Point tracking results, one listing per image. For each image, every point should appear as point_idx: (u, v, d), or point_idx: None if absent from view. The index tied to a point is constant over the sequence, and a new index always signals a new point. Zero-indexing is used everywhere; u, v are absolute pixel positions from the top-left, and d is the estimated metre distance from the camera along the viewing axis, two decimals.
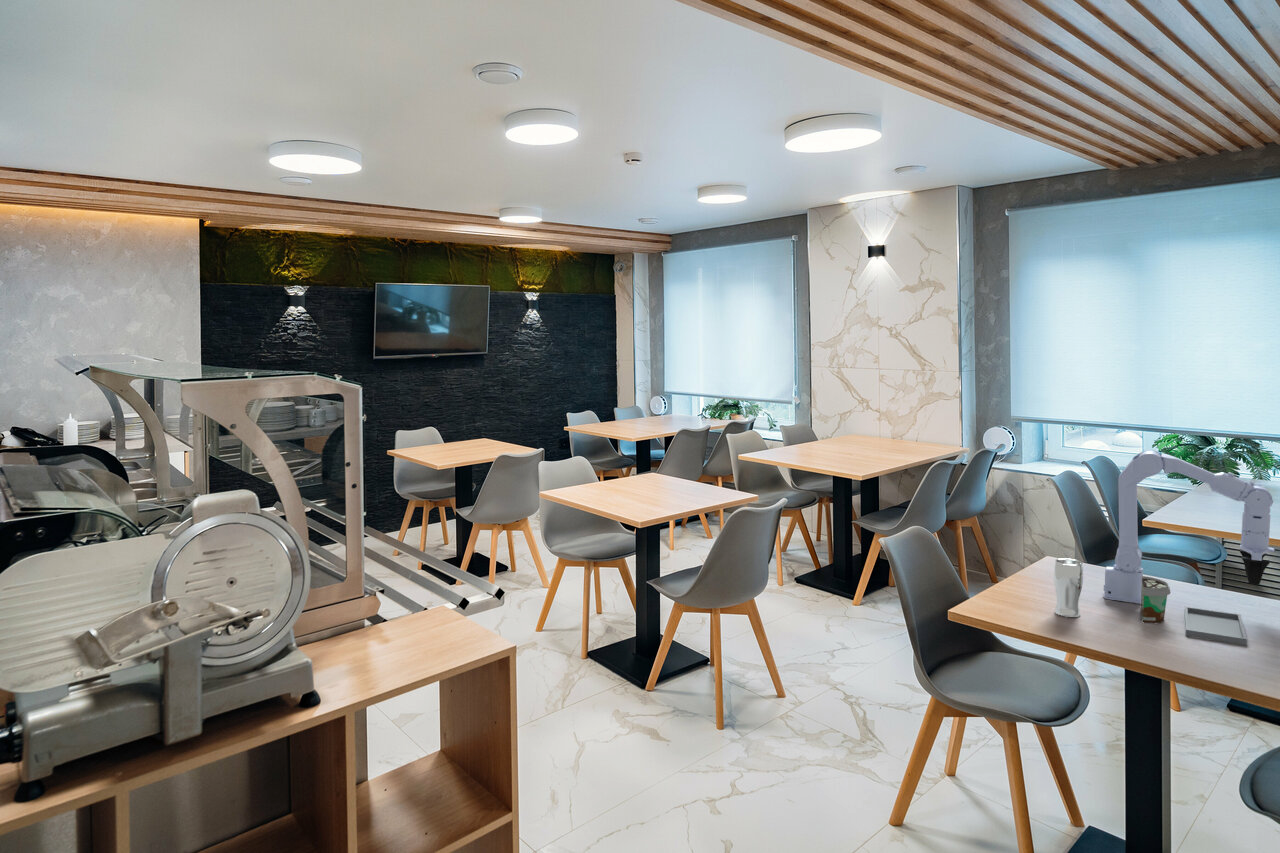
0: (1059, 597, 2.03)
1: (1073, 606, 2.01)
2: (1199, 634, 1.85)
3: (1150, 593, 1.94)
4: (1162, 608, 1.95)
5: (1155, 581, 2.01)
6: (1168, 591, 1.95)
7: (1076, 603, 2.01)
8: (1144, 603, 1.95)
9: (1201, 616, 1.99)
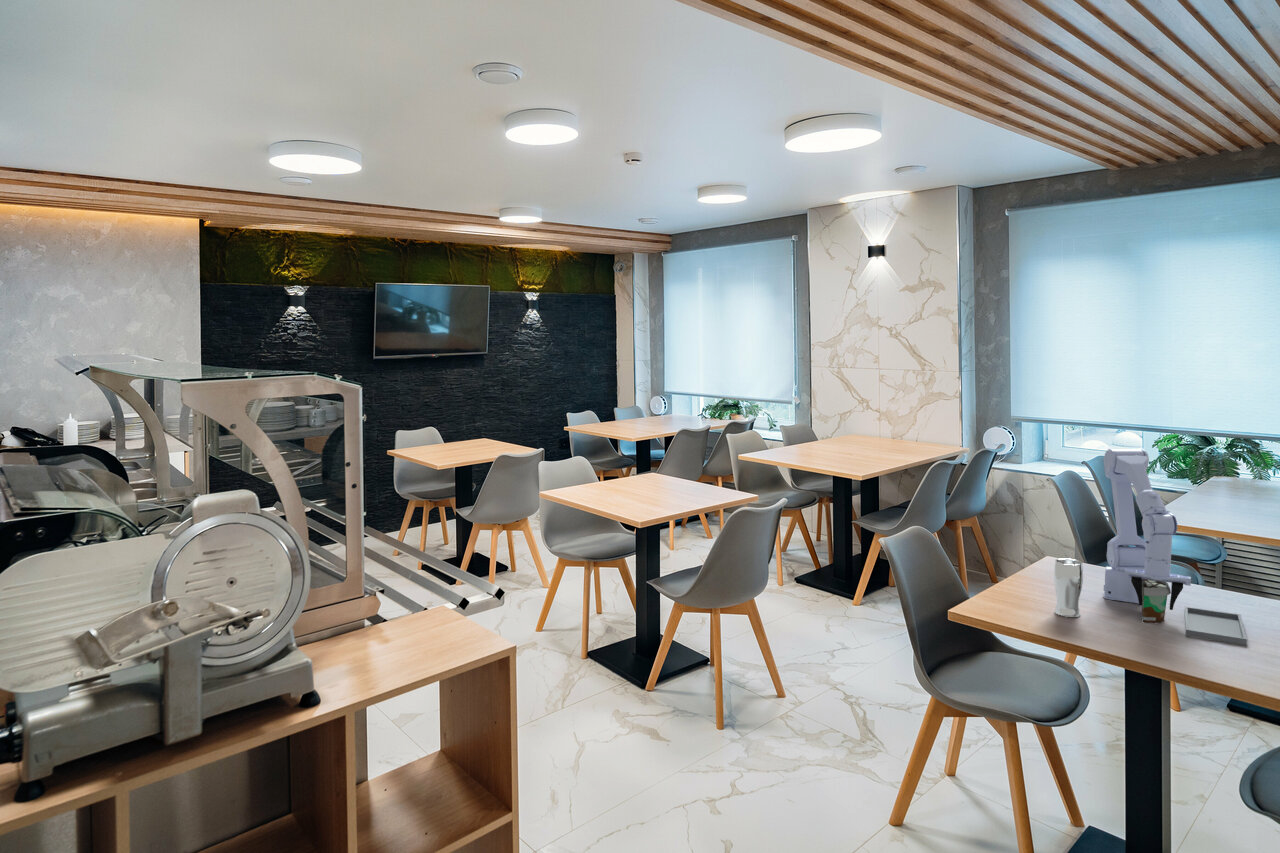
0: (1059, 597, 2.03)
1: (1073, 606, 2.01)
2: (1199, 634, 1.85)
3: (1150, 593, 1.94)
4: (1162, 608, 1.95)
5: (1155, 581, 2.01)
6: (1168, 591, 1.95)
7: (1076, 603, 2.01)
8: (1144, 603, 1.95)
9: (1201, 616, 1.99)
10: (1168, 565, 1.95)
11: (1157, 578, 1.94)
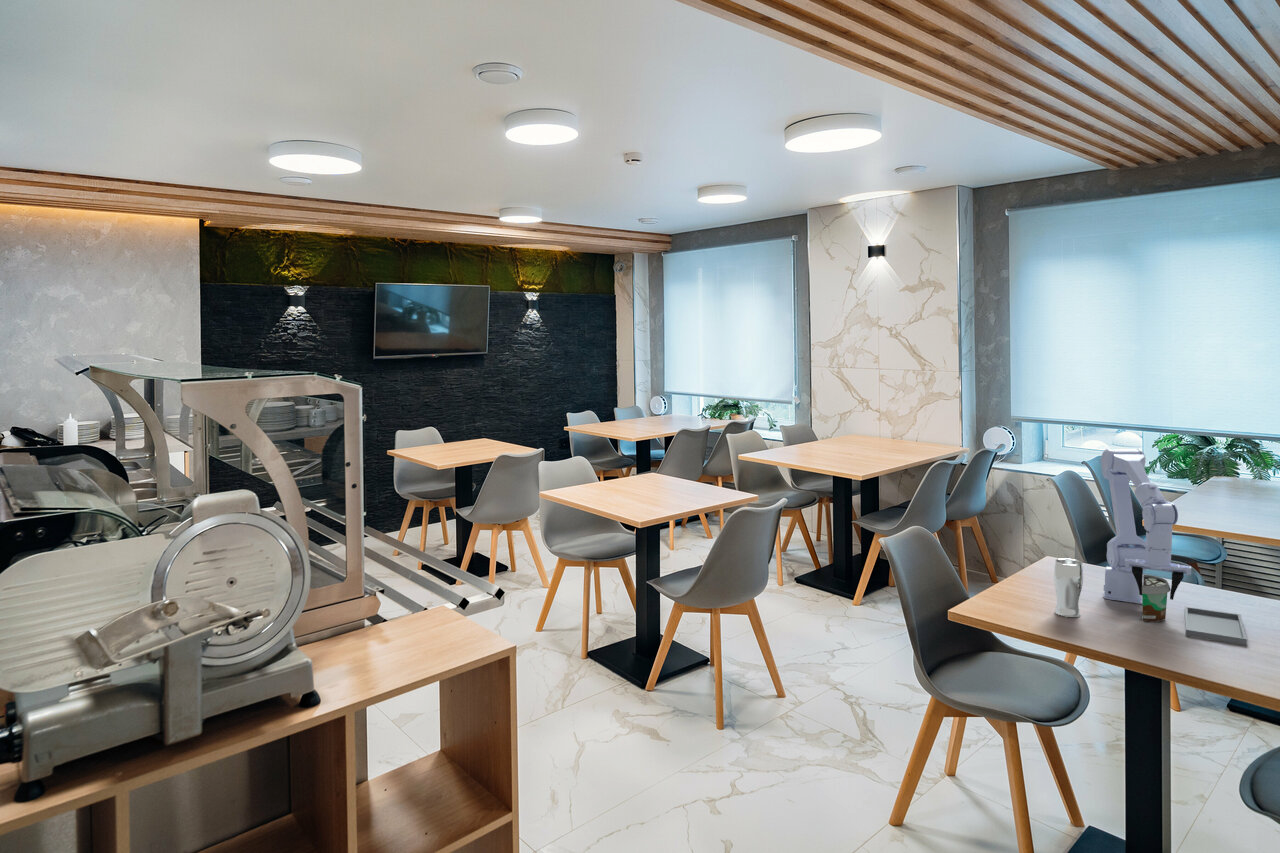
0: (1059, 597, 2.03)
1: (1073, 606, 2.01)
2: (1199, 634, 1.85)
3: (1148, 591, 1.94)
4: (1162, 606, 1.95)
5: (1156, 579, 2.01)
6: (1167, 589, 1.95)
7: (1076, 603, 2.01)
8: (1143, 601, 1.96)
9: (1201, 616, 1.99)
10: (1168, 555, 1.94)
11: (1157, 568, 1.94)
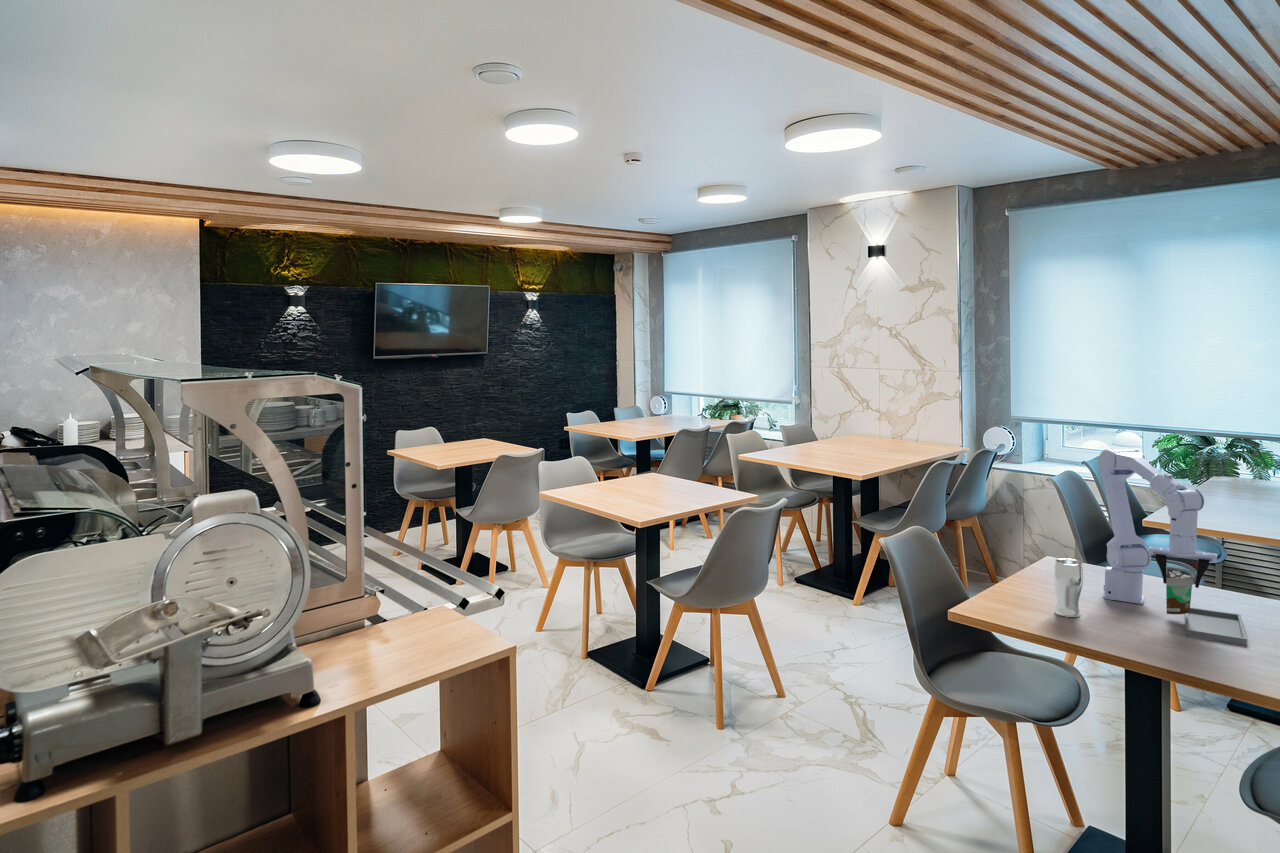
0: (1059, 597, 2.03)
1: (1073, 606, 2.01)
2: (1199, 634, 1.85)
3: (1173, 583, 1.91)
4: (1187, 599, 1.92)
5: (1180, 571, 1.98)
6: (1192, 581, 1.91)
7: (1076, 603, 2.01)
8: (1167, 594, 1.92)
9: (1201, 616, 1.99)
10: (1194, 542, 1.91)
11: (1182, 555, 1.91)
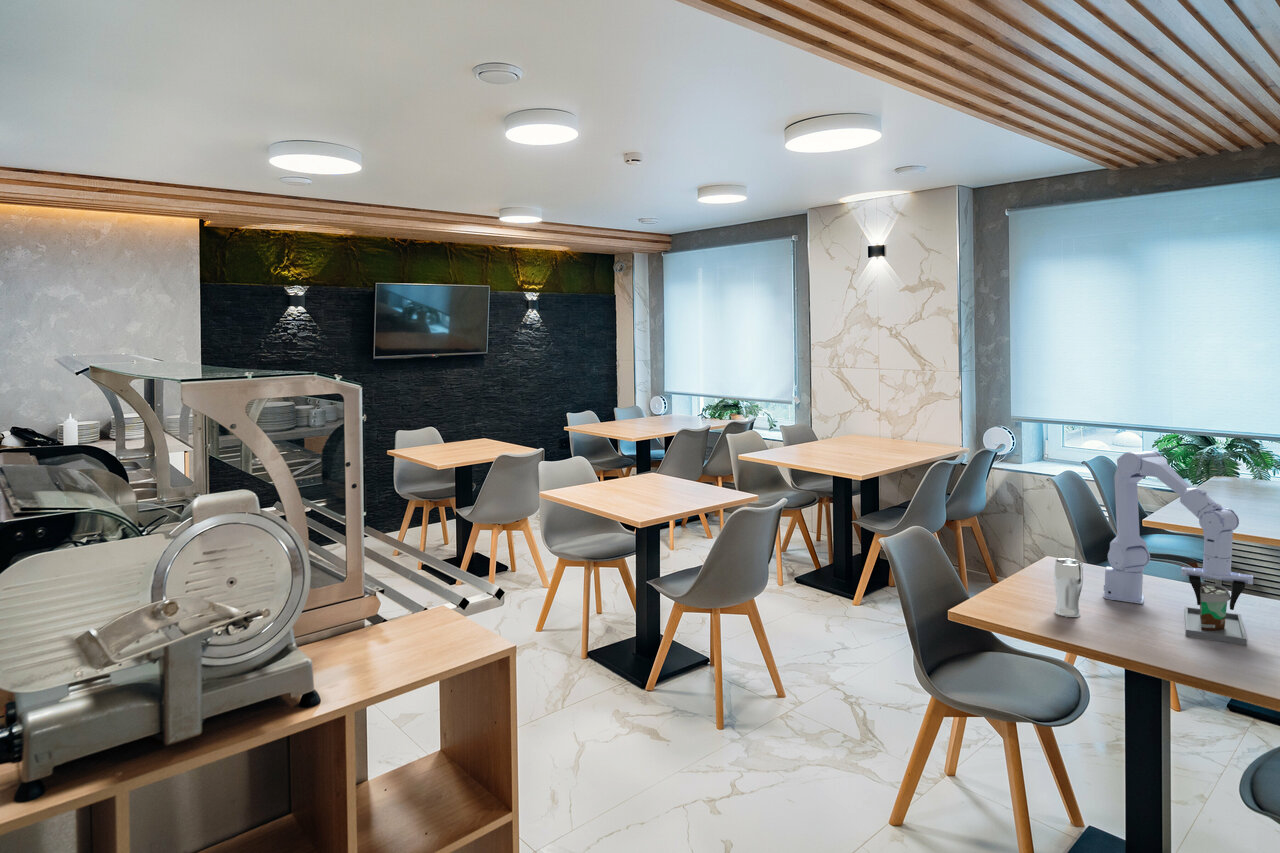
0: (1059, 597, 2.03)
1: (1073, 606, 2.01)
2: (1199, 634, 1.85)
3: (1208, 599, 1.87)
4: (1222, 615, 1.88)
5: (1214, 587, 1.94)
6: (1228, 597, 1.87)
7: (1076, 603, 2.01)
8: (1202, 610, 1.88)
9: None
10: (1229, 563, 1.87)
11: (1218, 577, 1.87)
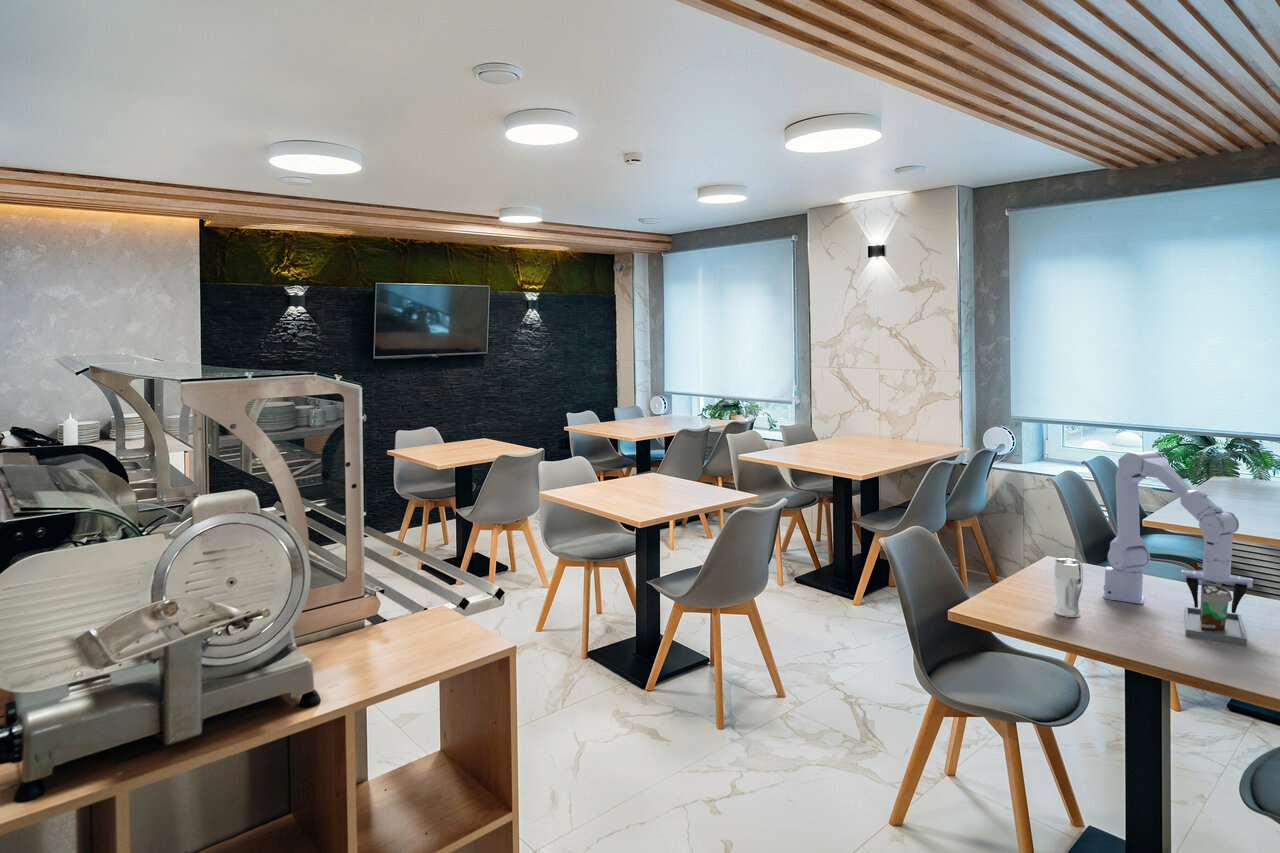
0: (1059, 597, 2.03)
1: (1073, 606, 2.01)
2: (1199, 634, 1.85)
3: (1210, 599, 1.87)
4: (1223, 615, 1.88)
5: (1216, 587, 1.94)
6: (1229, 598, 1.87)
7: (1076, 603, 2.01)
8: (1203, 610, 1.88)
9: None
10: (1229, 566, 1.87)
11: (1217, 580, 1.87)
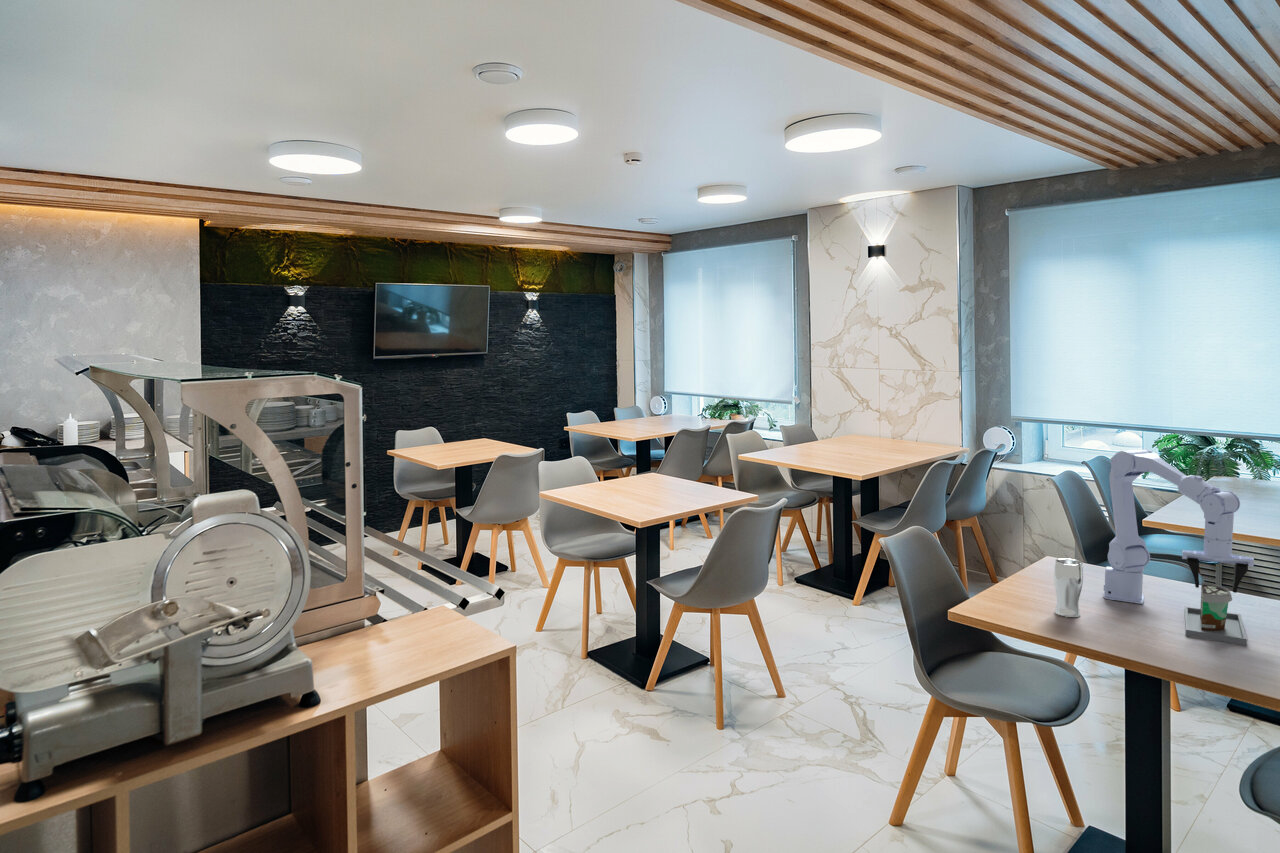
0: (1059, 597, 2.03)
1: (1073, 606, 2.01)
2: (1199, 634, 1.85)
3: (1210, 599, 1.87)
4: (1223, 615, 1.88)
5: (1216, 587, 1.94)
6: (1229, 598, 1.87)
7: (1076, 603, 2.01)
8: (1203, 610, 1.88)
9: None
10: (1230, 545, 1.87)
11: (1218, 559, 1.86)
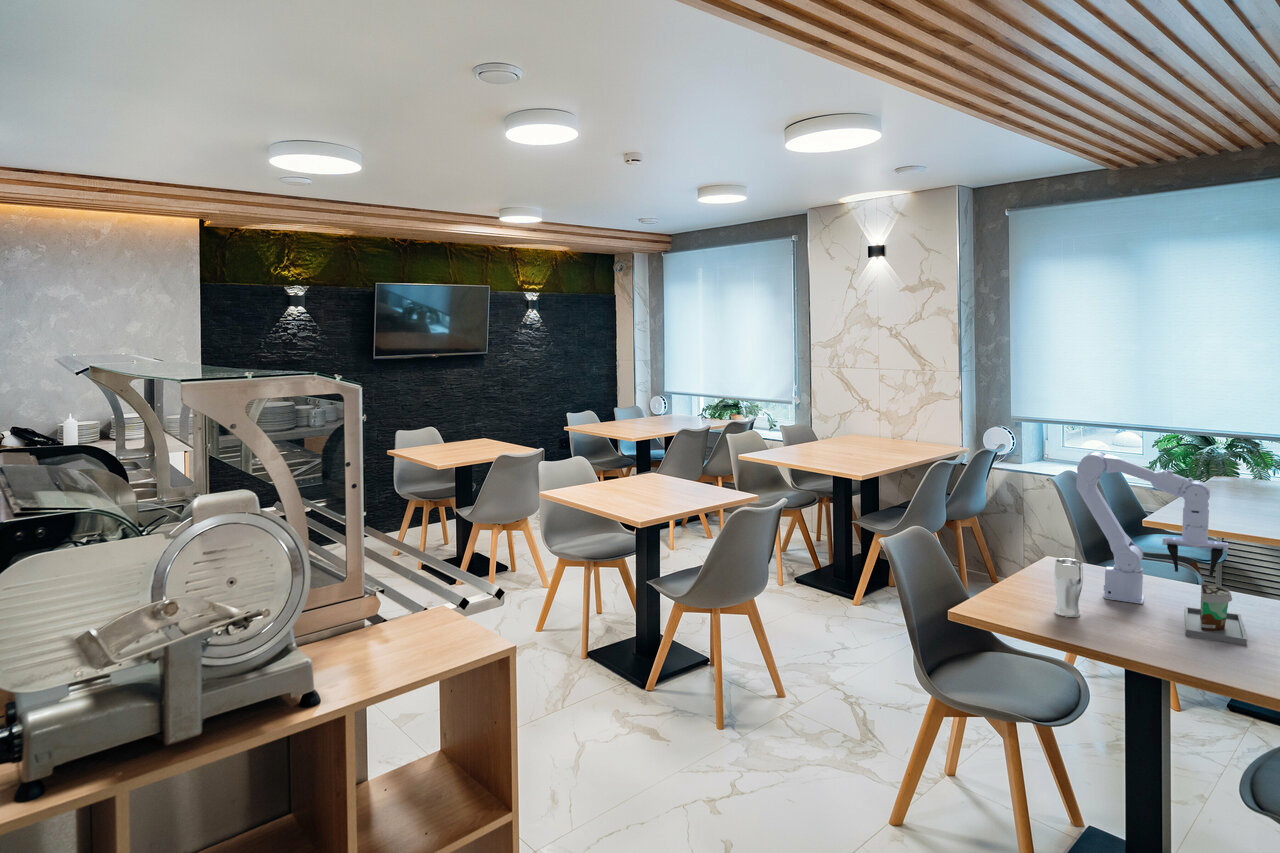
0: (1059, 597, 2.03)
1: (1073, 606, 2.01)
2: (1199, 634, 1.85)
3: (1210, 599, 1.87)
4: (1223, 615, 1.88)
5: (1216, 587, 1.94)
6: (1229, 598, 1.87)
7: (1076, 603, 2.01)
8: (1203, 610, 1.88)
9: None
10: (1206, 532, 2.01)
11: (1195, 544, 2.00)
